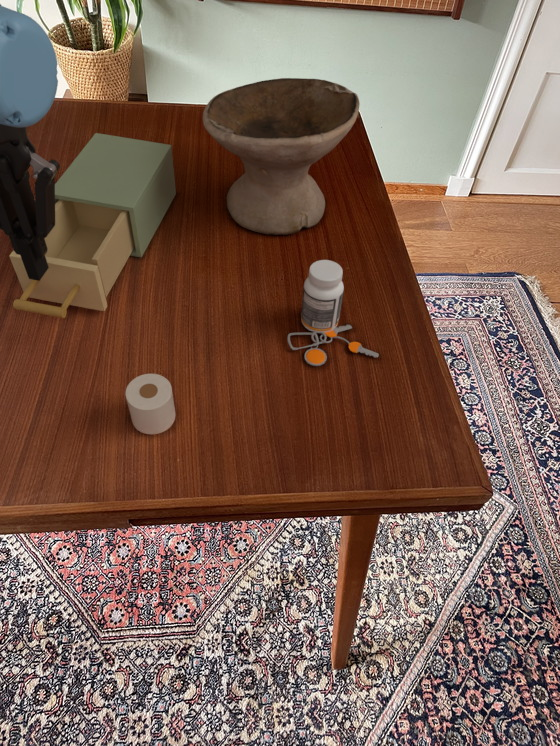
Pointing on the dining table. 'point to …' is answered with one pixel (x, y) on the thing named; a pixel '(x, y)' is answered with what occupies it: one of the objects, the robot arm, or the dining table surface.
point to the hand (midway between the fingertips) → (38, 273)
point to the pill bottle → (322, 296)
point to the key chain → (319, 356)
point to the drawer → (78, 259)
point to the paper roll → (150, 403)
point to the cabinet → (123, 181)
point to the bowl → (279, 147)
